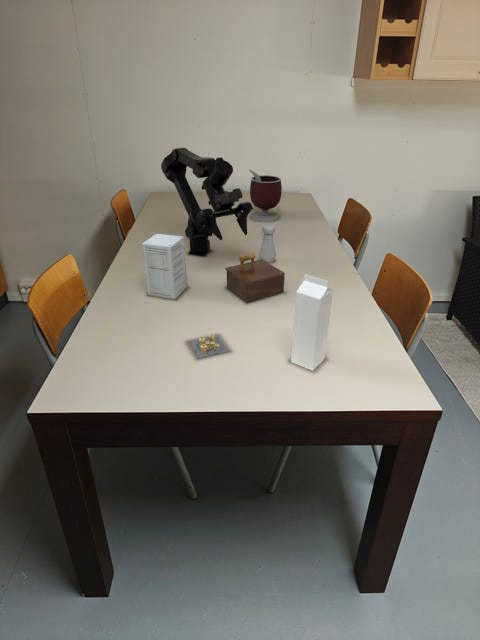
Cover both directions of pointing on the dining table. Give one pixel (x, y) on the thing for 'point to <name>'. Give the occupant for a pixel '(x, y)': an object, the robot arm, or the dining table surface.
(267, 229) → the salt shaker
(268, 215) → the mate gourd
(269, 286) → the tea box
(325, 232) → the dining table surface
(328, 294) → the milk
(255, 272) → the tea lid
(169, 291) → the supplement box
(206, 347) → the dice set
